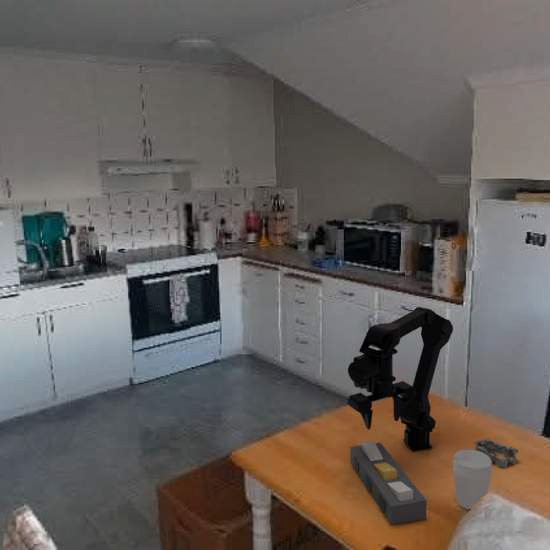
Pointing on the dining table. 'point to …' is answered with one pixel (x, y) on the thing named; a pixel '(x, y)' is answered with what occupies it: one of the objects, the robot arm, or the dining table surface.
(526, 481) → the dining table surface
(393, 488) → the rocker
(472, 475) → the cup
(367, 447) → the rocker
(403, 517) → the rocker switch panel
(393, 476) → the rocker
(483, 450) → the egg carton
